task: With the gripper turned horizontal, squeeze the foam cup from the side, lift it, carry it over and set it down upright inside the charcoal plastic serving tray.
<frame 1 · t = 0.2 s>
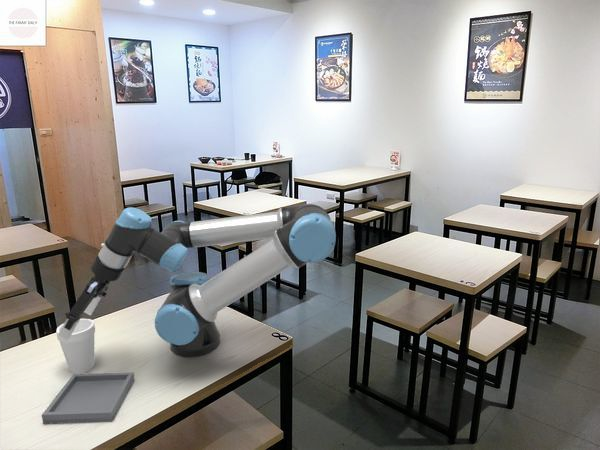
hand: (75, 324, 118), 15 cm above the table, tool tilted 35°, fingers open, 13 cm apart
serving tray: (92, 400, 110), on the table
foam cup: (82, 368, 124), on the table
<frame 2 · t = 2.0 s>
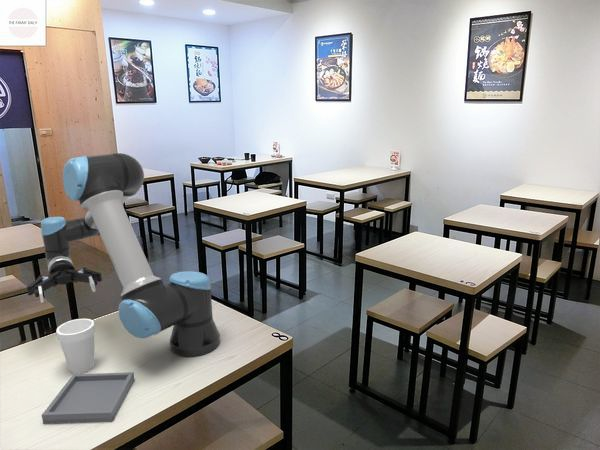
hand: (68, 292, 127), 19 cm above the table, tool horizontal, fingers open, 13 cm apart
nothing on the table moved.
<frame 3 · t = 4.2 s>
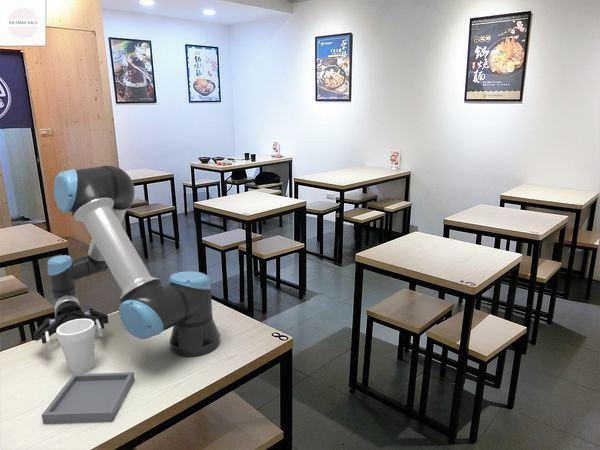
hand: (75, 338, 126), 7 cm above the table, tool horizontal, fingers open, 13 cm apart
nothing on the table moved.
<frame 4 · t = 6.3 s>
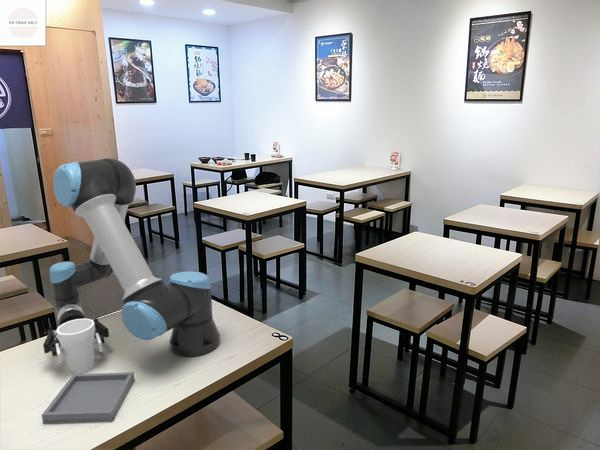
hand: (80, 352, 119), 7 cm above the table, tool horizontal, fingers closed on foam cup, 9 cm apart
foam cup: (82, 368, 124), on the table, touching gripper
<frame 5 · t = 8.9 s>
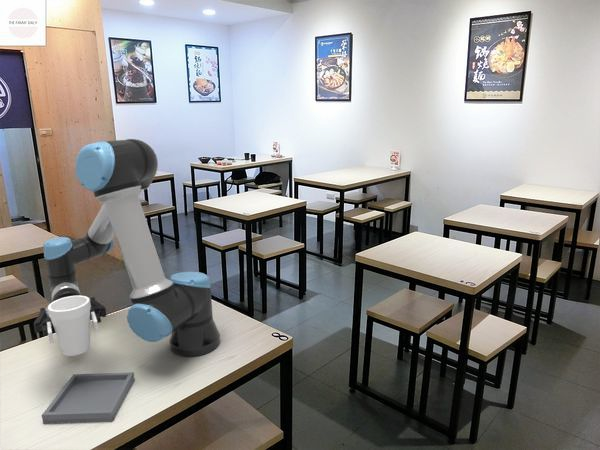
hand: (74, 331, 108), 18 cm above the table, tool horizontal, fingers closed on foam cup, 9 cm apart
foam cup: (76, 349, 113), point 11 cm above the table, touching gripper
when the fingers open (9 cm above the table, at t = 11.7 s): foam cup drops 1 cm, resting on serving tray.
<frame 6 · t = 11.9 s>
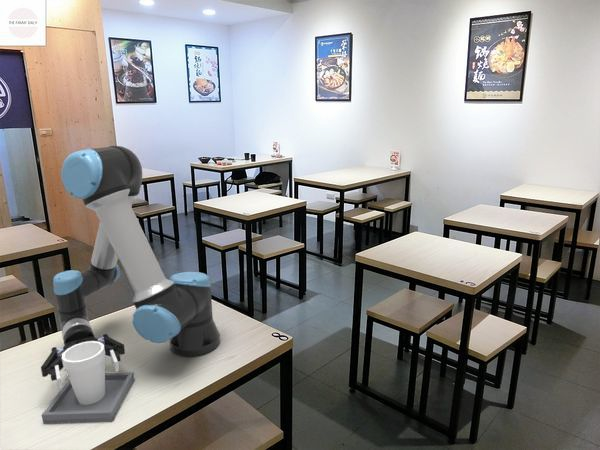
hand: (89, 375, 104), 9 cm above the table, tool horizontal, fingers open, 12 cm apart
foam cup: (92, 397, 110), point 1 cm above the table, touching serving tray
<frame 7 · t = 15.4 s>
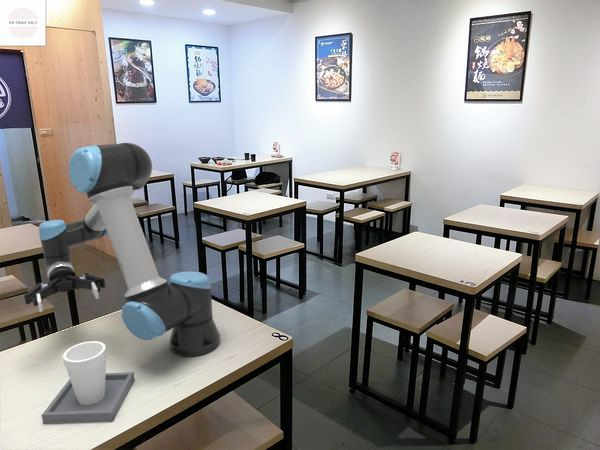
hand: (69, 300, 117), 22 cm above the table, tool horizontal, fingers open, 13 cm apart
nothing on the table moved.
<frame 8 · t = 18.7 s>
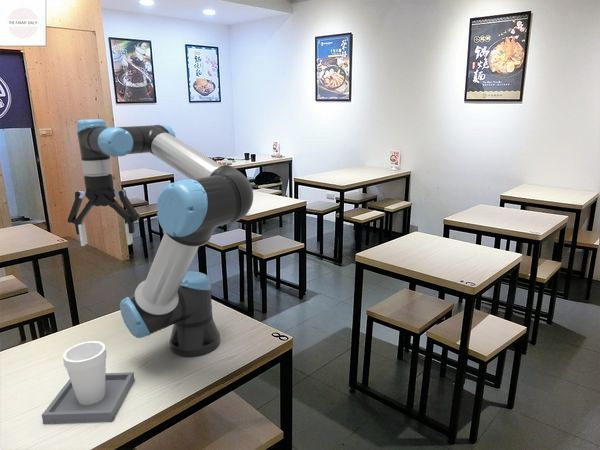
hand: (107, 244, 131), 32 cm above the table, tool pointing down, fingers open, 13 cm apart
nothing on the table moved.
at the end: foam cup inside the target area on the serving tray (0.1 cm from its centre), point 0.8 cm above the serving tray's base; foam cup tilted 0°; the gripper is holding nothing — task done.
